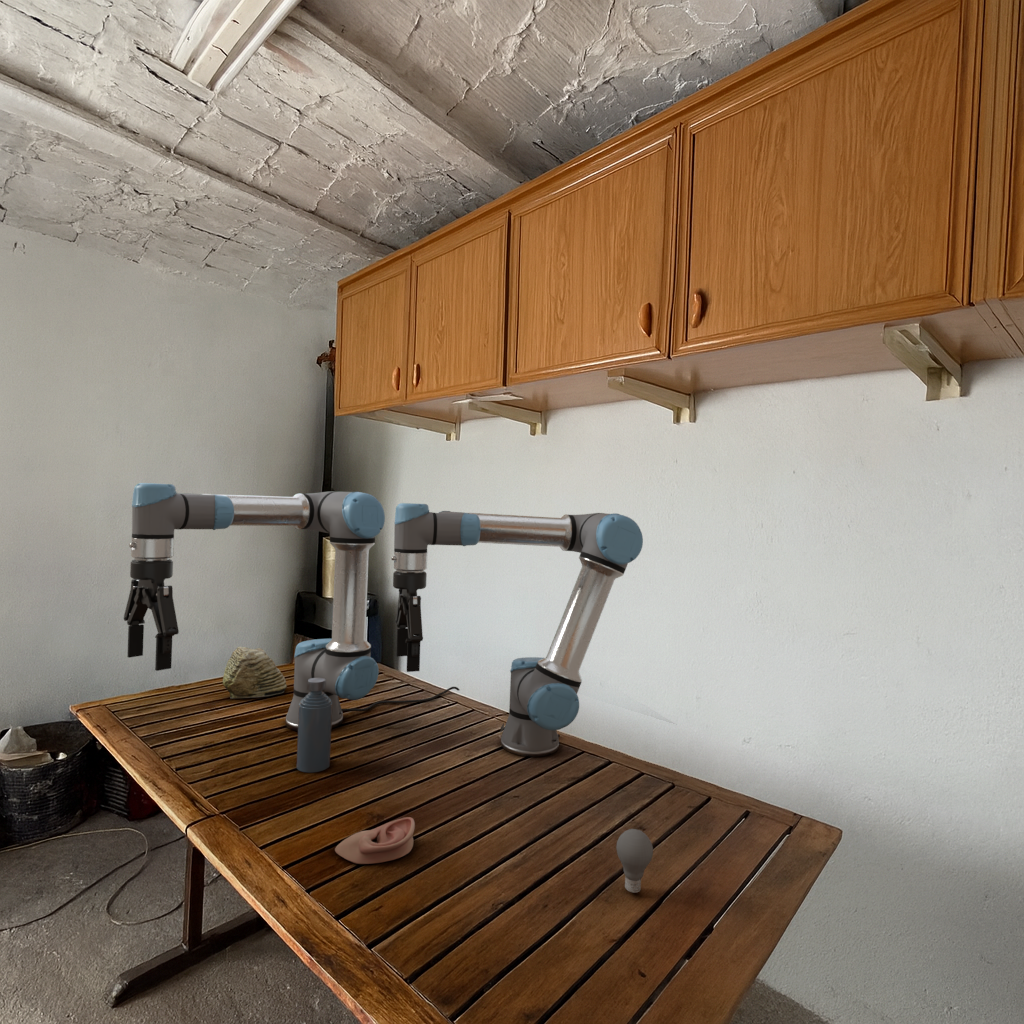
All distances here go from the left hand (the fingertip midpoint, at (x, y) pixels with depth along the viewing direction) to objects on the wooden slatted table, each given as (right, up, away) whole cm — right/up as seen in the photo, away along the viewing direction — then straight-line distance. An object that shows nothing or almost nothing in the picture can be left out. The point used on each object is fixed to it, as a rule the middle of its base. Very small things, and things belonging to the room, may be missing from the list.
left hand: (148, 662), depth 129 cm
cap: (+28, -9, +19) cm, 35 cm away
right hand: (+50, -4, +16) cm, 53 cm away
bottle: (+28, -29, +20) cm, 44 cm away
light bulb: (+94, -33, -24) cm, 103 cm away
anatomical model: (+49, -31, -14) cm, 60 cm away
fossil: (-6, -27, +69) cm, 74 cm away
